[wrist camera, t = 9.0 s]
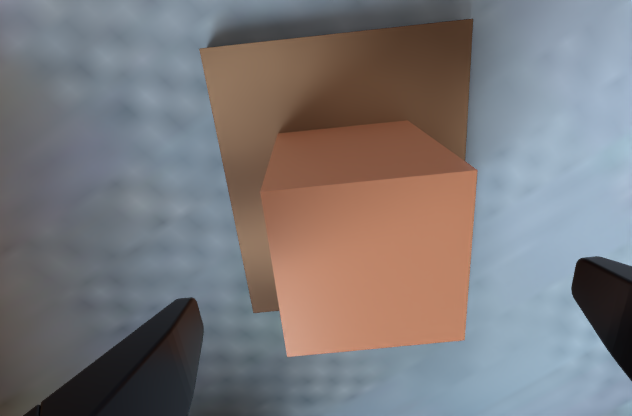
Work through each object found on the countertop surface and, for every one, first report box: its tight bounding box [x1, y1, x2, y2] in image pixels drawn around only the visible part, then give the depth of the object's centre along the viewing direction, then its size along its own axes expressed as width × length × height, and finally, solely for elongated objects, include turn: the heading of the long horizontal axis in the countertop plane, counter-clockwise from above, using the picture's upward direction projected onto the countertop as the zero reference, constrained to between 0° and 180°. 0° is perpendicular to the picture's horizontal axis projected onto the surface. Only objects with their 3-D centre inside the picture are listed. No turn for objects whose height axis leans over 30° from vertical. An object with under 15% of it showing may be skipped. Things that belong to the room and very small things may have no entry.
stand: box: [200, 19, 473, 313], centre depth 14 cm, size 12×10×7 cm
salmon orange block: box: [260, 120, 477, 357], centre depth 13 cm, size 5×5×7 cm
